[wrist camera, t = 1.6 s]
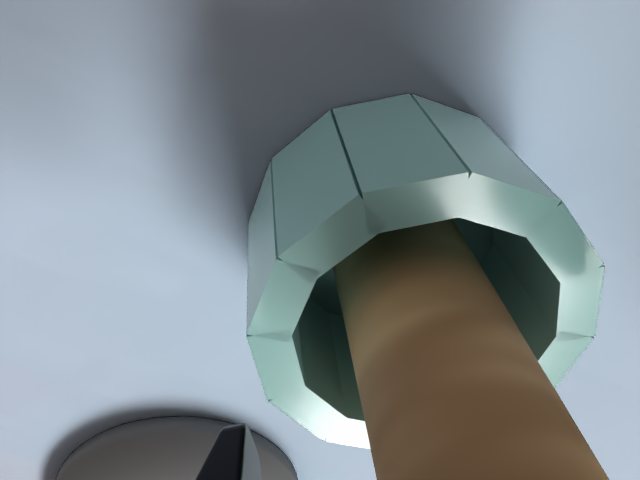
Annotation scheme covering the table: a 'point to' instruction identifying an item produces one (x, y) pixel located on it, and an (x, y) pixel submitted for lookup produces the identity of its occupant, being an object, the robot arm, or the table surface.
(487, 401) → the dowel
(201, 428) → the coaster
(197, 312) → the table surface
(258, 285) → the cup
